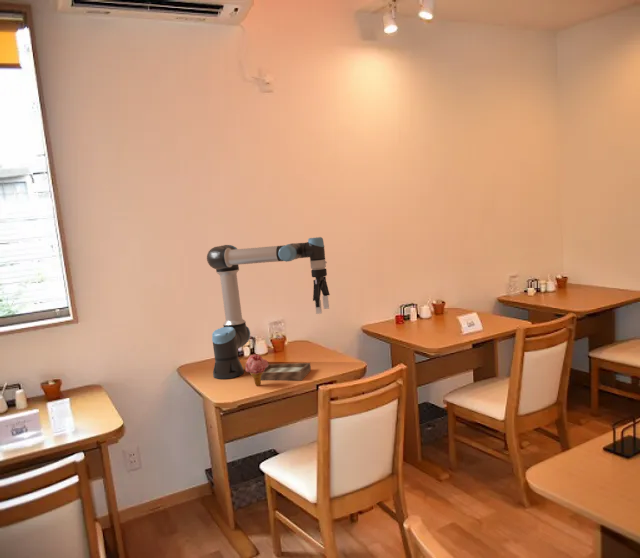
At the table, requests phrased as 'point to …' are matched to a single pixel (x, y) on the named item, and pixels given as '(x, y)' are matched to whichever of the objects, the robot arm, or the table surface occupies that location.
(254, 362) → the ice cream
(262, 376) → the tray
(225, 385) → the table surface
